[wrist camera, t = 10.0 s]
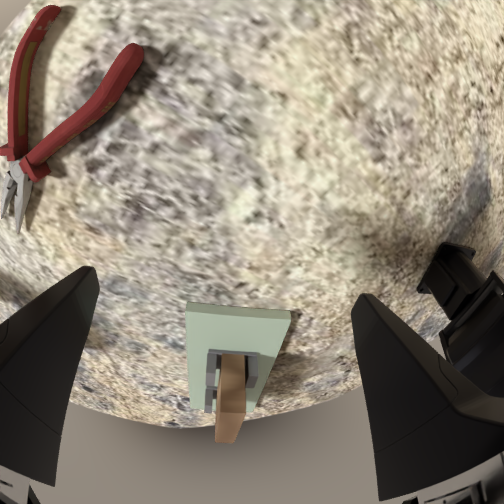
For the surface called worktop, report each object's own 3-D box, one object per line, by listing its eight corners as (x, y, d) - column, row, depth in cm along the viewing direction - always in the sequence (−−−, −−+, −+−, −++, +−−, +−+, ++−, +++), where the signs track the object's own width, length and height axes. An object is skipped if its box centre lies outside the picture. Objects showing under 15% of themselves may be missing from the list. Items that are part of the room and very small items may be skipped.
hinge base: (289, 310, 26) (295, 343, 23) (252, 406, 40) (253, 427, 36) (186, 301, 25) (180, 335, 22) (191, 402, 39) (189, 423, 35)
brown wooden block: (244, 354, 28) (246, 413, 22) (233, 399, 35) (233, 443, 29) (221, 353, 28) (220, 412, 22) (216, 397, 34) (215, 442, 29)
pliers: (-15, 192, 17) (-29, 204, 15) (57, 4, 9) (38, 0, 7) (55, 248, 22) (42, 264, 20) (156, 53, 14) (144, 50, 11)
